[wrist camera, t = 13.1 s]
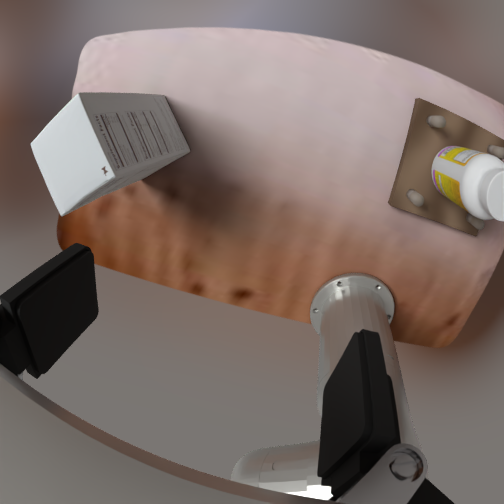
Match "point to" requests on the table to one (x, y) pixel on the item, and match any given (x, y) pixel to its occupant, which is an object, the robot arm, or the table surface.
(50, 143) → the supplement box
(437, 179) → the supplement bottle
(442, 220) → the board
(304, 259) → the table surface
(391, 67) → the table surface
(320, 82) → the table surface
